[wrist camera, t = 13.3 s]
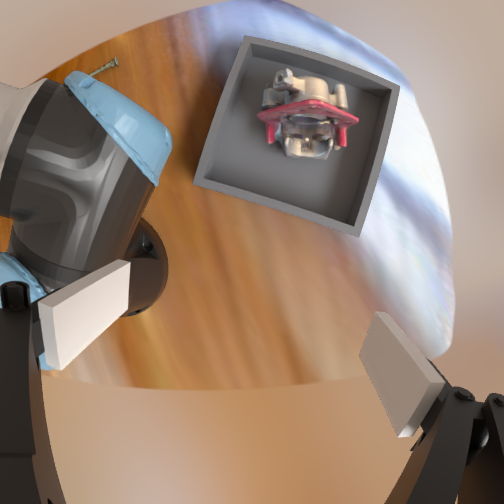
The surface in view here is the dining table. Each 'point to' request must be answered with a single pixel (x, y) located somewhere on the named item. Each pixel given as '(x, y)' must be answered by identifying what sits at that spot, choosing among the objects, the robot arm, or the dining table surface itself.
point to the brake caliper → (305, 115)
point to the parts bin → (271, 155)
